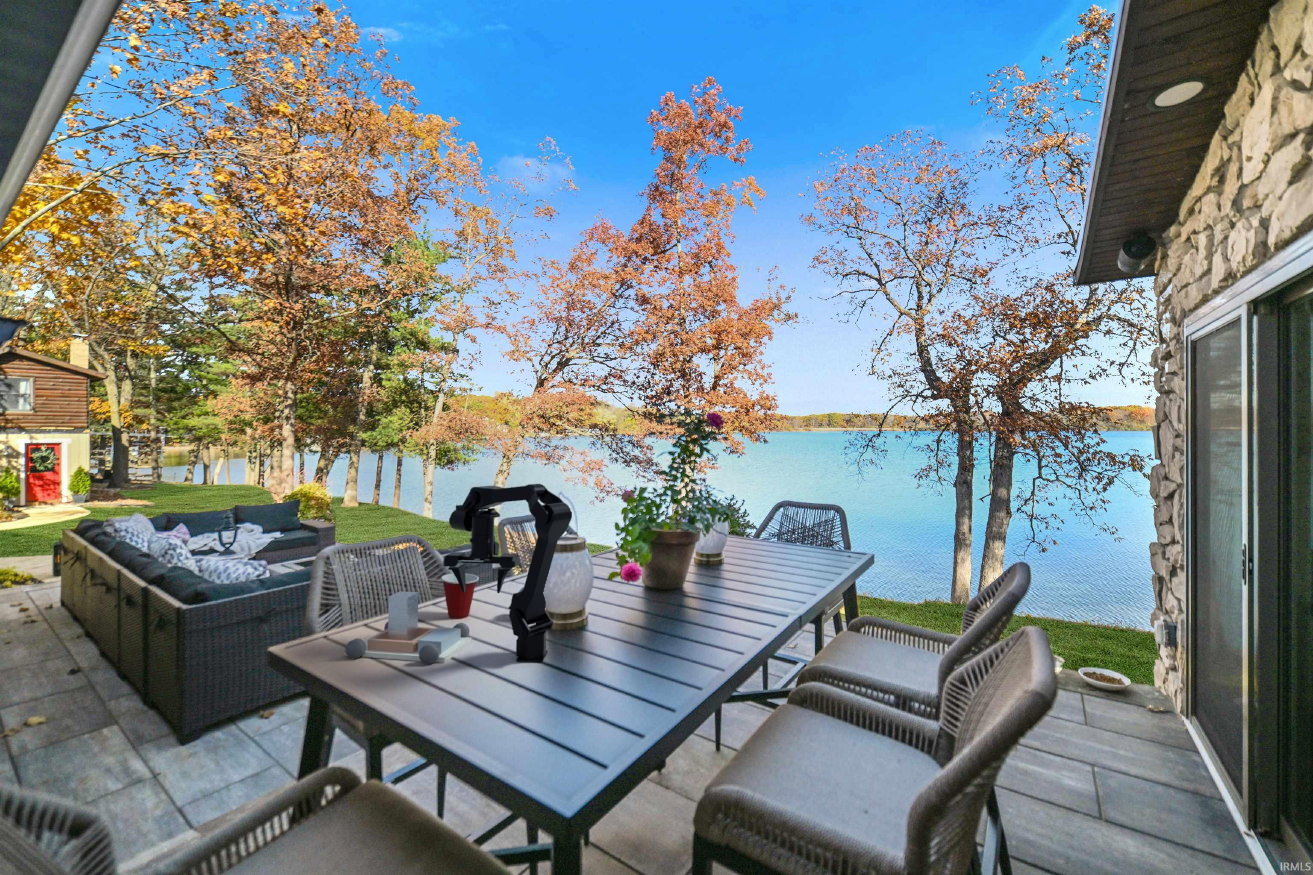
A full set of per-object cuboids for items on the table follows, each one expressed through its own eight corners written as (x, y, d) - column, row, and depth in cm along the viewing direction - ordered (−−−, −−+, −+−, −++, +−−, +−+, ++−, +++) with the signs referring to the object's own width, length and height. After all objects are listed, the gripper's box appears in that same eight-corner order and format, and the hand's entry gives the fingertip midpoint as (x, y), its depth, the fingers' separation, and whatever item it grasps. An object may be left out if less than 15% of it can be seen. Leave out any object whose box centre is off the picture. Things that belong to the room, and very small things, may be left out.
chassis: (473, 640, 150) (474, 623, 150) (441, 665, 133) (441, 646, 133) (383, 634, 153) (383, 617, 153) (339, 657, 136) (340, 639, 136)
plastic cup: (471, 622, 164) (472, 581, 165) (434, 621, 165) (435, 580, 165) (483, 611, 175) (483, 572, 175) (448, 610, 175) (449, 571, 176)
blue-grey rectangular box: (417, 640, 145) (418, 592, 145) (406, 647, 140) (407, 597, 140) (399, 639, 146) (400, 591, 146) (387, 646, 141) (388, 596, 141)
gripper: (525, 529, 157) (523, 585, 157) (458, 528, 157) (457, 583, 157) (514, 536, 146) (513, 596, 146) (443, 534, 146) (441, 594, 146)
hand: (481, 592), depth 149 cm, fingers open, 9 cm apart
